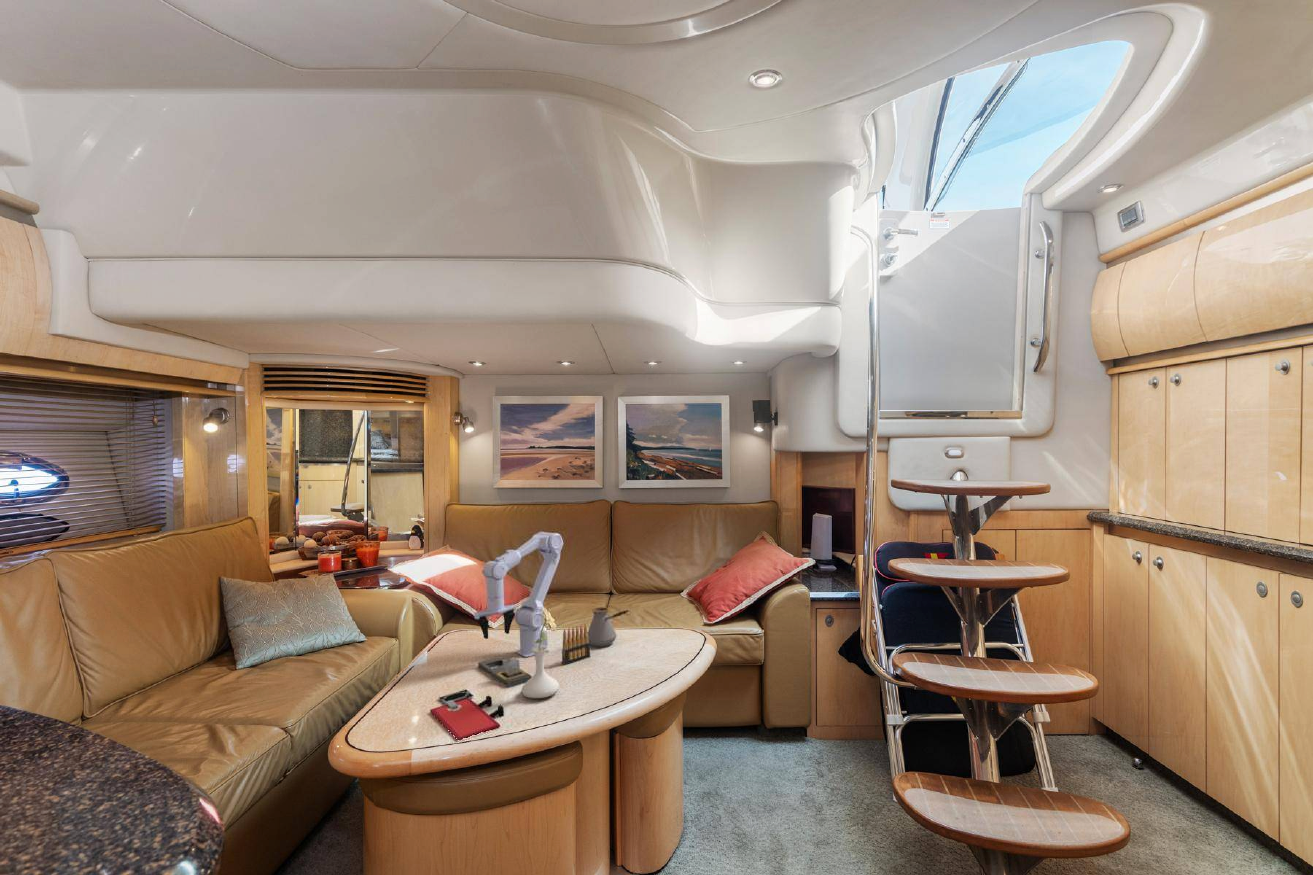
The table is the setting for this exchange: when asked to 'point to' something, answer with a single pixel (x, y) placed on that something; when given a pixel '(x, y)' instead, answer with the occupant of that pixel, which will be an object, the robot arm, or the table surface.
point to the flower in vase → (541, 667)
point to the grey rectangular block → (511, 667)
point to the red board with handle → (466, 715)
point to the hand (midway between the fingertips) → (496, 635)
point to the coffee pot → (602, 627)
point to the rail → (498, 672)
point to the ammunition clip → (575, 645)
